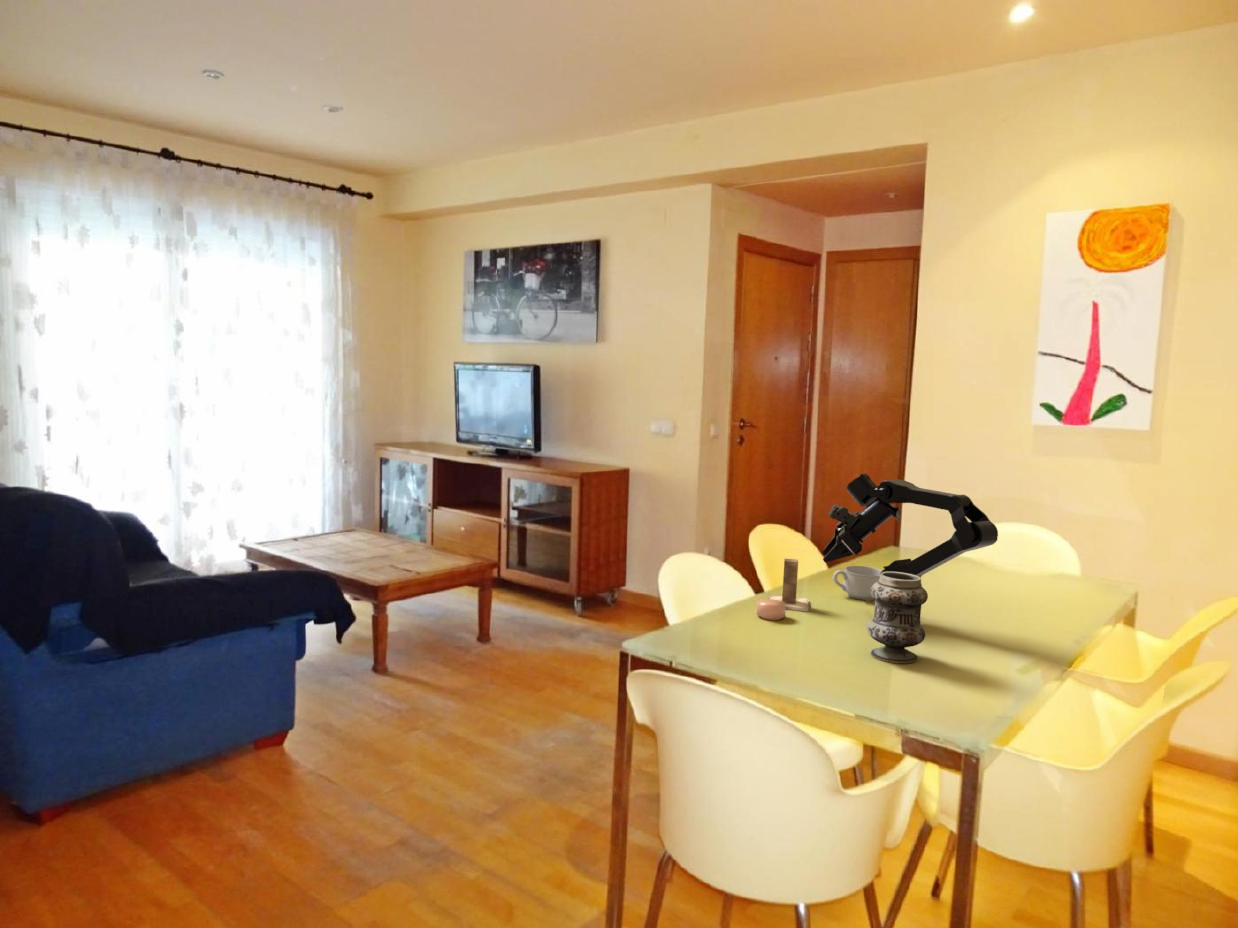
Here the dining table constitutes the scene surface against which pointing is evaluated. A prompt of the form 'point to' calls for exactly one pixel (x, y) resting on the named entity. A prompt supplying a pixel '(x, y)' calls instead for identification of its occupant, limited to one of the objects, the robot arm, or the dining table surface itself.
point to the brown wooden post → (791, 588)
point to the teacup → (858, 581)
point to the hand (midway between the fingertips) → (823, 557)
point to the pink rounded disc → (771, 609)
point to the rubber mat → (801, 611)
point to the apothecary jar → (897, 616)
